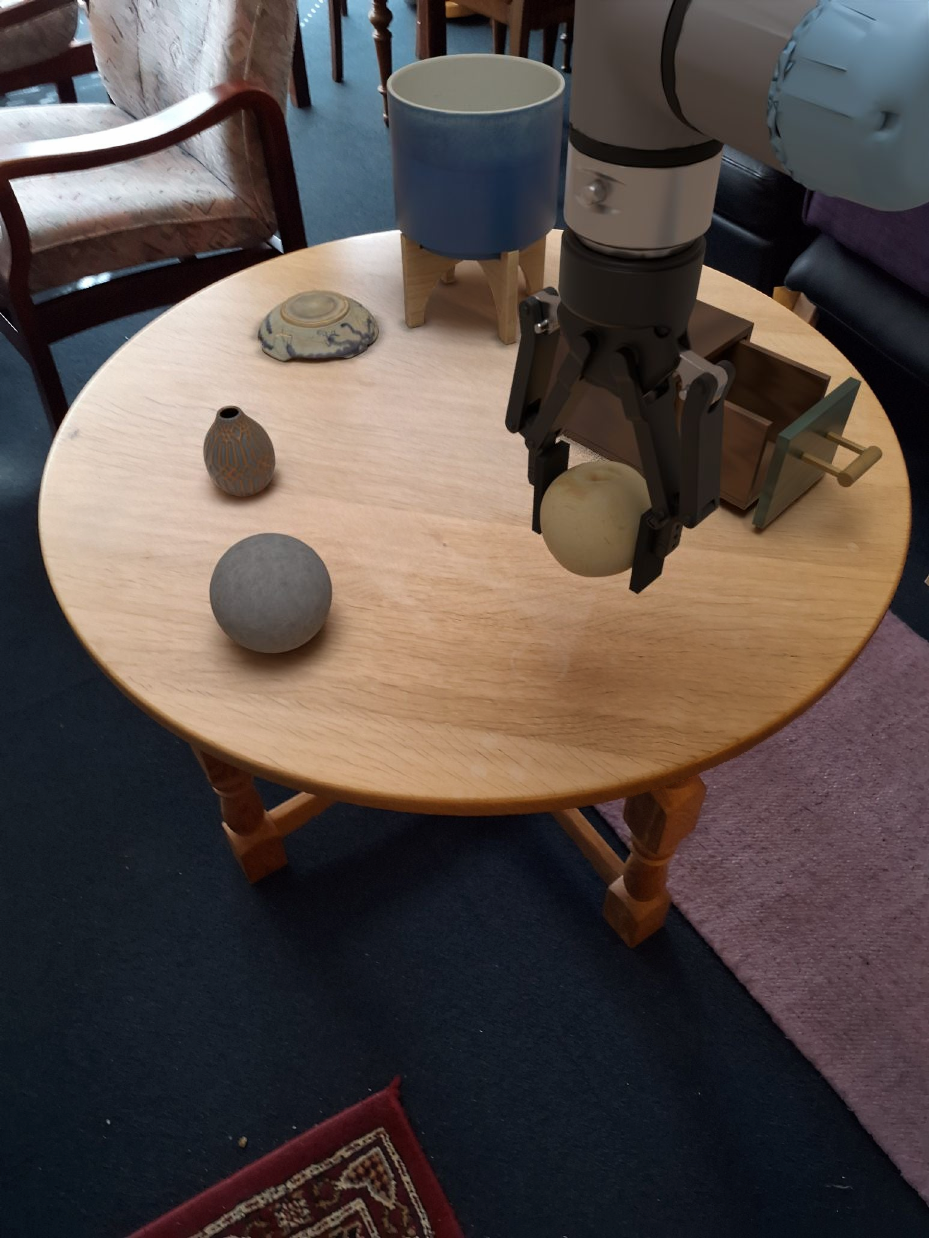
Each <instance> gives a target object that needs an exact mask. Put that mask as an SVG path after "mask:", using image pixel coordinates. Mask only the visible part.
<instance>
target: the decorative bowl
mask: <svg viewBox="0 0 929 1238" xmlns="http://www.w3.org/2000/svg"><path fill="white" fill-rule="evenodd" d="M378 335H379V325H378V321H377V320H376V319H375V317H374V315H372V313H371V312H370V311H369V309H367V308H366V307H365V306H363V304H362V303H360V302H358V301H357V300H355V299H353V298H351V297H348V296H346V295H343V294H341V293H339V292H337V291H332V290H326V289H316V290H306V291H302V292H299V293H295V294H293V295H291V296H290V297H288V298H287V299H285V300H284V301H283V302H280V303H278V304H277V305H276V306H275V307H273V308H272V309H271V310H270V311H269V312H268V313H267V314H266V316H265V317H264V319H263V320H262V322H261V323H260V326H259V328H258V330H257V337H259V338H261V346H262V347H261V349H262V351H263V352H264V353H265V354H267V355H268V356H269V357H271V358H275V359H276V360H278V361H281V362H284V363H285V362H286V361H288V360H290V359H293V358H295V359H297V358H303V359H328V358H344V359H352V358H353V357H355V356H358V355H360V354H361V353H363V352H364V351H365V350H367V349H368V345H371V344H372V343H374V342H375V341H376V340H377V338H378Z"/></svg>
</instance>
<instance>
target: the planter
mask: <svg viewBox="0 0 929 1238" xmlns="http://www.w3.org/2000/svg"><path fill="white" fill-rule="evenodd" d="M565 95H566V82H565V78H564V77H563V75H562V74H561V72H559V71H558V70H557V69H555V68H553V67H551V66H550V65H548V64H545V63H543V62H541V61H537V60H534V59H531V58H525V57H520V56H515V55H507V54H496V53H459V54H449V55H440V56H435V57H429V58H425V59H422V60H418V61H415V62H412V63H409V64H407V65H405V66H402V67H400V68H399V69H397V70H396V71H394V72H393V73H392V74H391V75H390V76H389V78H388V79H387V80H386V98H387V115H388V128H389V129H388V130H389V143H390V144H389V145H390V158H391V159H390V160H391V171H392V189H393V202H394V219H395V224H396V226H397V229H398V230H399V231H400V232H401V233H400V234H399V235H400V250H401V251H400V252H401V253H400V254H401V266H402V267H401V269H402V282H403V283H402V284H403V298H404V301H403V302H404V313H405V314H404V316H405V324H406V325H407V326H408V328H409V329H412V328H417V327H420V326H423V325H424V316H425V311H426V307H427V303H428V300H429V298H430V296H431V293H432V292H433V290H434V288H435V286H436V285H437V284H438V282H439V281H440V280H442V282H443V283H444V284H449V283H453V282H455V274H456V266H457V265H458V264H460V263H462V262H463V261H468V262H469V261H470V262H471V261H472V262H478V265H479V266H480V268H481V269H482V271H483V273H484V275H485V277H486V280H487V282H488V284H489V287H490V290H491V293H492V297H493V300H494V304H495V308H496V314H497V315H496V316H497V322H498V338H499V340H501V341H502V342H503V343H504V344H505V345H509V344H514V343H516V341H517V316H518V315H517V313H518V288H519V286H518V283H519V268H520V270H521V272H522V275H523V278H524V283H525V293H526V294H527V295H528V297H530V296H532V295H534V294H535V293H537V292H539V291H541V290H543V289H544V283H545V268H546V267H545V265H546V250H547V249H546V248H547V247H546V246H547V235H548V234H550V232H551V231H553V229H554V227H555V226H556V223H557V216H558V215H557V213H558V200H559V199H558V198H559V184H560V183H559V182H560V171H561V170H560V168H561V155H562V154H561V153H562V152H561V151H562V140H563V139H562V138H563V124H564V122H563V121H564V107H565Z"/></svg>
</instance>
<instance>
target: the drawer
mask: <svg viewBox="0 0 929 1238" xmlns="http://www.w3.org/2000/svg"><path fill="white" fill-rule="evenodd" d="M722 360H727V361H729V362H731V363H732V364H733V366H734V368H735V372H736V374H735V377H734V380H733V382H732V384H731V386H730V389H729V391H728V393H727V396H726V398H725V400H724V417H723V437H722V457H721V478H720V498H721V499H722V500H724V501H727V502H729V503H730V504H732V505H733V506H736V507H738V508H740V509H741V510H746V509H747V508H748V507H749V506H751V505H752V504H753V503H754V502H755V501H757V499H758V501H757V505H756V508H755V511H754V515H753V516H752V517H753V518H752V521H751V524H752V525H754V526H756V527H758V528H759V529H760V530H763V529H764V528H765V527H766V526H767V525H769V524H770V523H771V522H772V521H773V520H775V518H776V517H778V516H779V514H782V512H783V511H784V510H786V509H787V508H788V507H789V506H790V505H792V504H793V503H794V502H795V501H796V500H797V499H799V497H800V496H801V495H803V494H804V493H805V492H806V491H807V490H809V488H811V487H812V486H813V485H814V484H816V483H817V481H819V480H820V479H821V478H822V477H823V476H824V475H826V474H828V475H831V476H833V477H835V478H836V481H837V483H838V485H839V486H841V487H843V488H850V487H851V486H853V485H854V484H855V483H856V482H857V481H858V480H859V479H860V478H862V476H864V475H865V473H867V472H868V471H869V470H870V469H871V468H872V467H873V466H874V465H876V463H878V462H879V461H880V460H881V459H882V457H883V451H882V449H881V448H880V447H879V446H877V445H870V446H868V447H865V446H863V445H862V444H859V443H857V442H855V441H852V440H850V439H848V438H846V437H844V436H843V435H844V433H845V429H846V426H847V424H848V423H847V422H848V420H849V417H850V414H851V412H852V410H853V407H854V404H855V401H856V398H857V396H858V393H859V391H860V387H861V385H862V380H860V379H857V378H855V377H853V376H849V377H848V378H847V379H846V380H844V381H843V382H841V383H840V384H839V385H838V386H836V387H835V388H834V389H833V390H832V391H830V392H829V393H828V394H827V391H828V388H829V385H830V382H831V379H832V376H831V375H830V374H827V373H825V372H823V371H820V370H817V369H815V368H813V367H811V366H808V365H806V364H803V363H801V362H799V361H796V360H794V359H792V358H790V357H787V356H784V355H783V354H780V353H777V352H775V351H773V350H770V349H768V348H766V347H764V346H761V345H758V344H757V343H754V342H751V341H750V342H749V341H747V340H745V339H742V338H741V339H740V340H739V341H737V342H736V343H734V344H733V345H731V346H730V347H728V348H727V349H725V350H724V351H722V352H721V353H719V354H718V355H717V356H715V357H714V358H712V359H711V360H709V361H708V362H710V363H712V364H713V365H716V364H717V363H718V362H720V361H722ZM675 388H676V399H675V401H674V411H675V416H676V421H677V426H678V431H679V436H680V431H681V412H682V407H683V404H684V401H685V400H682V399H681V398H680V397H679V391H681V390H682V379H681V380H680V381H678V382H677V383H676V387H675ZM826 394H827V395H826ZM839 446H840V447H841V448H845V449H846V450H849V451H851V452H852V453H855V454H857V455H858V456H857V457H855V459H853V460H852V461H851V462H850V463H849V464H848V465H847V466H846V467H845V468H843V469H842V468H839V467H837V466H835V465H833V461H834V459H835V456H836V454H837V452H838V451H837V450H838V448H839Z"/></svg>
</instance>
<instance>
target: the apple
mask: <svg viewBox="0 0 929 1238" xmlns="http://www.w3.org/2000/svg"><path fill="white" fill-rule="evenodd" d="M651 507H652V506H651V502H650V498H649V493H648V489H647V484H646V480H645V479H644V478H643V477H642V476H641V475H640V474H639V473H638V472H637V471H636V470H634V469H633V468H631V467H630V466H627V465H625V464H622V463H618V462H613V461H611V460H593V461H592V460H591V461H586V462H582V463H579V464H577V465H574V466H571V467H570V468H568V470H567V471H565V472H564V473H562V474H561V475H560V476H558V477H557V478H556V479H555V480H554V481H553V482H552V483H551V485H550V486H549V487H548V489H547V491H546V493H545V495H544V497H543V500H542V503H541V509H540V525H541V531H542V534H541V536H542V538H543V541H544V543H545V545H546V548H547V549H548V551H549V552H550V554H551V555H552V556H553V558H554V559H555V560H556V562H557V563H558V564H559V565H560V566H561V567H562V568H563V569H565V570H566V571H568V572H570V573H571V574H574V575H577V576H579V577H584V578H606V577H613V576H617V575H619V574H622V573H624V572H627V571H629V570H630V569H632V566H633V560H634V554H635V548H636V542H637V536H638V530H639V524H640V518H641V515H642V514H643V513H645V512H646V511H647V510H648V509H650V508H651Z"/></svg>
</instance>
